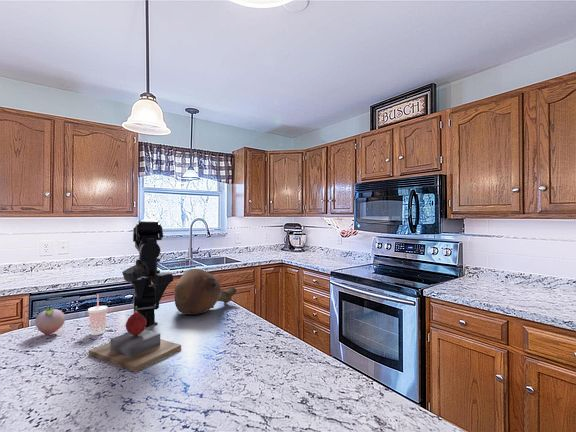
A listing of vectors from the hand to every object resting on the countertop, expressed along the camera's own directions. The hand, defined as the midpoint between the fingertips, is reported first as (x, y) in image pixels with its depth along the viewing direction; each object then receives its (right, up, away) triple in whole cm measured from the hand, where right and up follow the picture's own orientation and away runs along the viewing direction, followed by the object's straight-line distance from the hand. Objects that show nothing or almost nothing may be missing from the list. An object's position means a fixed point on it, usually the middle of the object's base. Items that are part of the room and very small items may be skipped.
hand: (148, 301), depth 105 cm
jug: (+12, -14, +31) cm, 36 cm away
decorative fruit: (-37, -13, +3) cm, 39 cm away
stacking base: (+1, -13, -11) cm, 17 cm away
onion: (+1, -8, -11) cm, 13 cm away
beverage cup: (-21, -13, +5) cm, 25 cm away
